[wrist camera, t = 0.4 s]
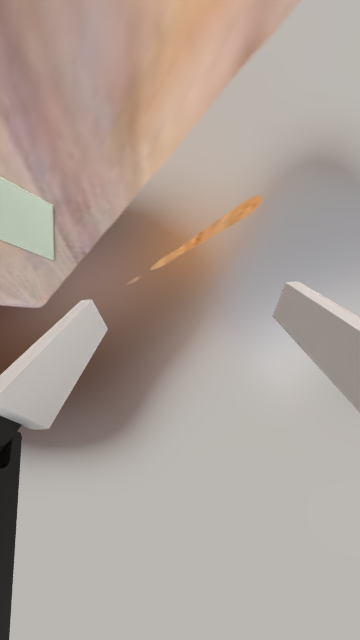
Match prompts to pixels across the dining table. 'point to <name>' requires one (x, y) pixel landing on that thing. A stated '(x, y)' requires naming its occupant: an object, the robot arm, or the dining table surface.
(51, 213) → the pad
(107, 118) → the dining table surface
